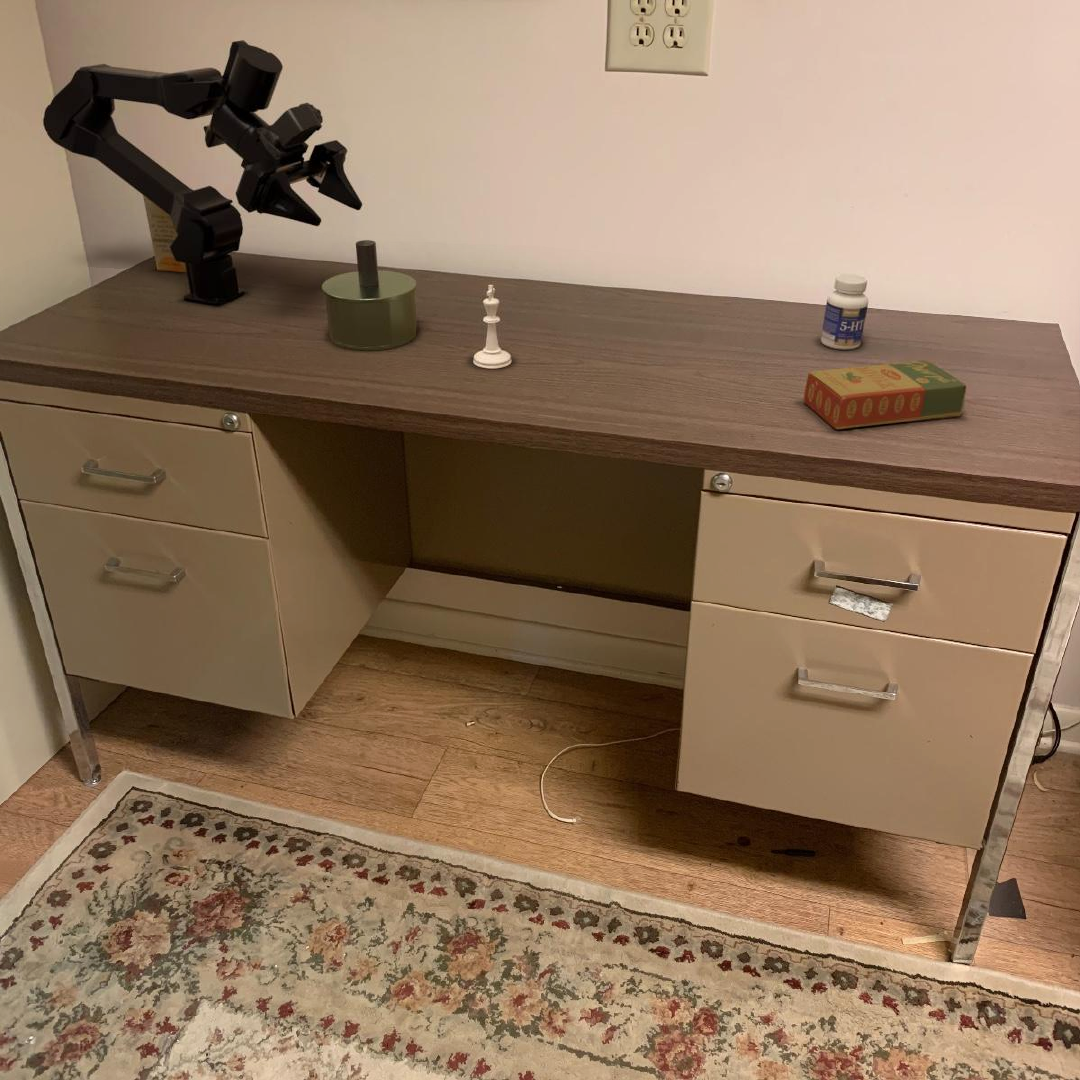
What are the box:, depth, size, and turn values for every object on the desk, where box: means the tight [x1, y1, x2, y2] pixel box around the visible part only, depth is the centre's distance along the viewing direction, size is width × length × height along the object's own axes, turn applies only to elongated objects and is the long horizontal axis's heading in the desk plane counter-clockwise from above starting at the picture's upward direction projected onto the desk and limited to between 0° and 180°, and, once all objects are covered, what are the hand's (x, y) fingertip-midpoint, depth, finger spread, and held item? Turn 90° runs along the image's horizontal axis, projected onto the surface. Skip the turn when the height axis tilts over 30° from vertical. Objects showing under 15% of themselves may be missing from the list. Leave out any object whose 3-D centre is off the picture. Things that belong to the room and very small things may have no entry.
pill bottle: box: [820, 273, 869, 351], centre depth 136 cm, size 5×5×9 cm
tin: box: [324, 291, 417, 352], centre depth 139 cm, size 12×12×6 cm
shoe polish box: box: [142, 195, 187, 273], centre depth 163 cm, size 5×5×12 cm
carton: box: [802, 359, 967, 430], centre depth 119 cm, size 8×16×4 cm, turn 105°
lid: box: [321, 239, 417, 304], centre depth 135 cm, size 12×12×7 cm
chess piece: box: [472, 284, 513, 370], centre depth 130 cm, size 5×5×10 cm
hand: (340, 215), depth 137 cm, fingers open, 9 cm apart
